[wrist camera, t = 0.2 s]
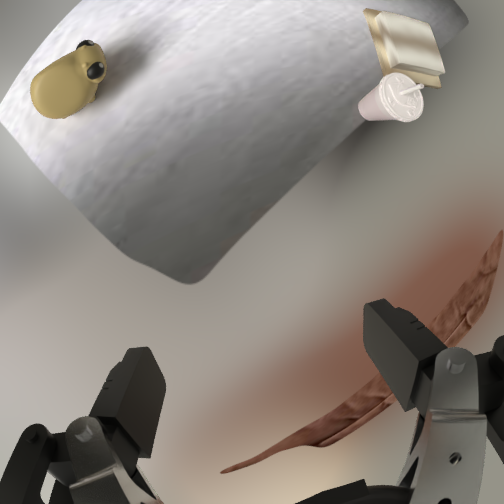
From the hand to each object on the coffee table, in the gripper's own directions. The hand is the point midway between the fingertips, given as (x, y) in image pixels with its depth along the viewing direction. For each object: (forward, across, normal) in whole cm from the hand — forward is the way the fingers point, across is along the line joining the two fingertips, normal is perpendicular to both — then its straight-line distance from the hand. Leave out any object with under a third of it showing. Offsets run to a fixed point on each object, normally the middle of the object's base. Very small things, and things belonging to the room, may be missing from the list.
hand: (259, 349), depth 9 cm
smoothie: (+29, -22, -12) cm, 38 cm away
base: (+29, -32, -24) cm, 50 cm away
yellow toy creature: (+29, +19, -25) cm, 43 cm away
